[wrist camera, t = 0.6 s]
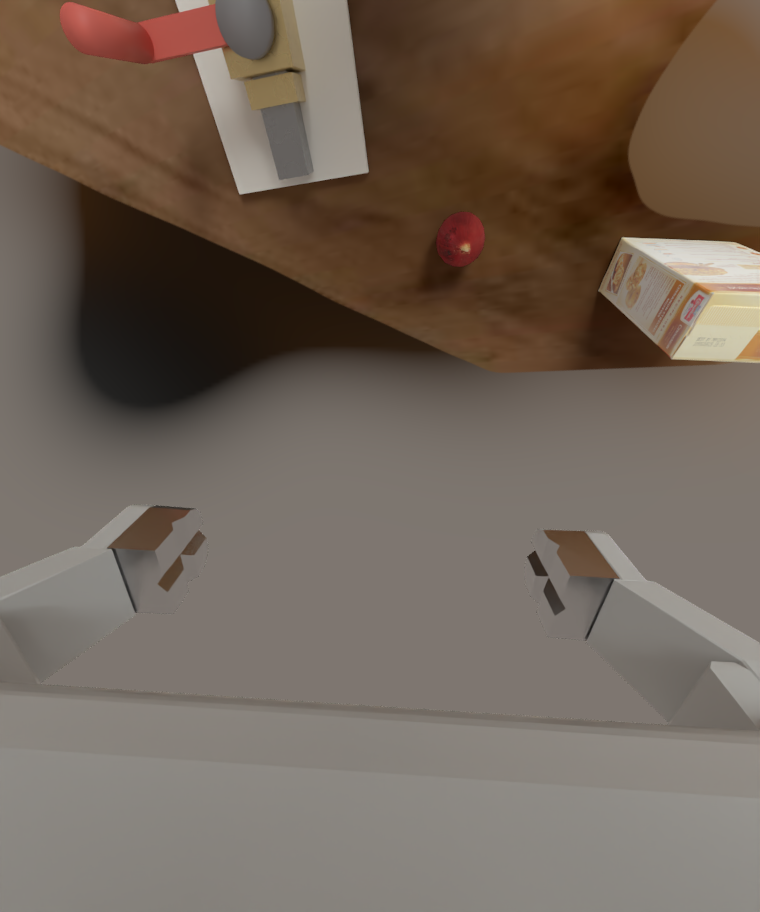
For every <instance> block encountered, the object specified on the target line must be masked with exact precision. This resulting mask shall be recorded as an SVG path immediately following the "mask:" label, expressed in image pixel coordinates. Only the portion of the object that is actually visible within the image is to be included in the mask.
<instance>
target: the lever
mask: <svg viewBox="0 0 760 912" xmlns="http://www.w3.org/2000/svg"><path fill="white" fill-rule="evenodd" d="M60 21H61V25H62V28H63V31H64V33H65V35H66V37H67V38H68V40H69V41H70V43H71V44H72V45H73V46H74V47H75V48H76V49H77V50H78V51H80V52H82V53H84V54H87V55H93V56H99V57H105V58H111V59H117V60H123V61H129V62H135V63H141V64H148V63H156V62H160V61H164V60H169V59H173V58H178V57H182V56H187V55H191V54H195V53H200V52H204V51H209V50H213V49H218V48H222V47H227V46H229V47H230V48H231V49H232V50H233V51H234V52H235V53H236V54H238V55H239V56H241V57H244V58H247V59H251V60H258V59H261V58H262V57H264V56H265V55H266V54H267V53H268V52H269V50H270V48H271V46H272V43H273V38H274V20H273V15H272V11H271V8H270V5H269V3H268V1H267V0H216V2H215V4H212V5H208V6H204V7H200V8H196V9H192V10H187V11H183V12H179V13H175V14H171V15H167V16H163V17H159V18H154V19H150V20H146V21H142V22H138V23H136V22H132V21H129V20H126V19H123V18H120V17H117V16H114V15H110V14H107V13H104V12H101V11H98V10H95V9H92V8H89V7H85V6H82V5H79V4H76V3H73V2H67V3H65V4H64V5H63V6H62V7H61V10H60Z"/></svg>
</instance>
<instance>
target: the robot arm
mask: <svg viewBox="0 0 760 912" xmlns="http://www.w3.org/2000/svg"><path fill="white" fill-rule="evenodd" d="M202 524H203V520H202V516H201V512H200V511H198V510H197V509H195V508H182V507H170V506H158V505H156V506H154V505H141V504H135V505H131V506H128V507H127V508H126V509H125V510H123V511H122V512H121V513H120V514H119V515H118V516H116V518H114V519H113V520H112V521H111V522H110V523H108V524H107V525H106V526H105V527H104V528H103V529H101V530H100V531H99V532H98V533H97V534H95V535H94V536H93V537H92V538H91V539H90V540H89V541H87V542H86V543H85V544H84V545H83V546H82V547H72V548H70V549H67V550H65V551H63V552H60V553H58V554H55V555H53V556H50V557H48V558H46V559H43V560H40V561H38V562H36V563H33V564H31V565H28V566H26V567H23V568H21V569H18V570H16V571H14V572H11V573H9V574H6V575H4V576H1V577H0V912H760V643H759V642H757V641H755V640H754V639H752V638H750V637H749V636H747V635H745V634H743V633H742V632H740V631H738V630H736V629H735V628H733V627H731V626H729V625H728V624H726V623H724V622H723V621H721V620H719V619H717V618H716V617H714V616H712V615H711V614H709V613H707V612H705V611H704V610H702V609H700V608H699V607H697V606H695V605H693V604H692V603H690V602H688V601H686V600H685V599H683V598H681V597H680V596H678V595H676V594H674V593H673V592H671V591H669V590H668V589H666V588H664V587H662V586H661V585H659V584H657V583H655V582H652V581H646V580H645V578H644V577H643V576H642V575H641V574H640V572H639V571H638V570H637V569H636V568H635V566H634V565H633V564H632V563H631V561H630V560H629V559H628V558H627V557H626V555H625V554H624V553H623V552H622V551H621V549H620V548H619V547H618V546H617V545H616V543H615V542H614V541H613V540H612V539H611V537H610V536H609V535H608V534H607V533H605V532H603V531H588V530H586V531H585V530H580V531H570V530H551V529H537V530H536V532H535V533H534V535H533V538H532V542H531V543H532V544H533V547H534V549H535V551H534V552H532V553H531V554H530V555H529V556H527V559H526V563H525V567H524V577H525V583H526V588H527V590H528V593H529V595H530V597H531V598H533V599H534V600H535V601H536V602H537V603H539V605H538V609H537V615H538V617H539V619H540V622H541V624H542V626H543V629H544V631H545V633H546V635H547V637H550V638H561V639H572V640H584V641H586V643H587V644H588V645H589V646H590V647H591V648H592V649H593V650H594V651H595V652H596V653H597V654H598V655H599V656H600V657H601V658H602V659H603V660H604V661H606V662H607V664H609V665H610V666H611V667H612V668H613V669H614V670H615V671H616V672H617V673H618V674H619V675H620V676H621V677H622V678H623V679H624V680H625V681H626V682H627V683H628V684H629V685H630V686H631V687H632V688H633V689H634V690H635V691H636V692H638V694H639V695H640V696H641V697H643V698H644V699H645V700H646V701H647V702H648V703H649V704H650V705H651V706H652V707H653V708H654V709H655V710H656V711H657V712H658V713H659V714H660V715H661V716H662V717H663V718H664V719H665V720H666V721H667V722H668V724H667V725H660V724H644V723H629V722H615V721H599V720H583V719H569V718H568V719H567V718H553V717H537V716H522V715H506V714H505V715H504V714H490V713H474V712H459V711H443V710H427V709H410V708H396V707H381V706H365V705H350V704H336V703H320V702H304V701H289V700H275V699H259V698H243V697H229V696H214V695H198V694H183V693H167V692H153V691H136V690H122V689H107V688H90V687H75V686H60V685H45V684H41V683H42V682H43V681H44V680H46V679H47V678H48V677H50V676H51V675H53V674H54V673H56V672H57V671H58V670H60V669H61V668H63V667H64V666H65V665H67V664H68V663H70V662H71V661H72V660H74V659H75V658H76V657H78V656H79V655H81V654H82V653H83V652H85V651H86V650H87V649H89V648H90V647H92V646H93V645H94V644H96V643H97V642H99V641H100V640H101V639H103V638H104V637H106V636H107V635H108V634H110V633H111V632H112V631H114V630H115V629H117V628H118V627H120V626H121V625H122V624H123V623H125V622H126V621H128V620H129V619H131V618H132V617H133V616H135V613H157V614H174V613H175V611H176V610H177V609H178V607H179V606H180V604H181V603H182V601H183V599H184V598H185V596H186V595H187V593H188V592H189V588H188V582H190V581H192V580H193V579H195V578H197V577H198V576H199V575H200V573H201V571H202V570H203V568H204V567H205V563H206V560H207V556H208V543H207V538H206V537H205V536H204V535H203V534H202V533H201V532H200V531H199V529H200V527H201V526H202Z"/></svg>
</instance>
